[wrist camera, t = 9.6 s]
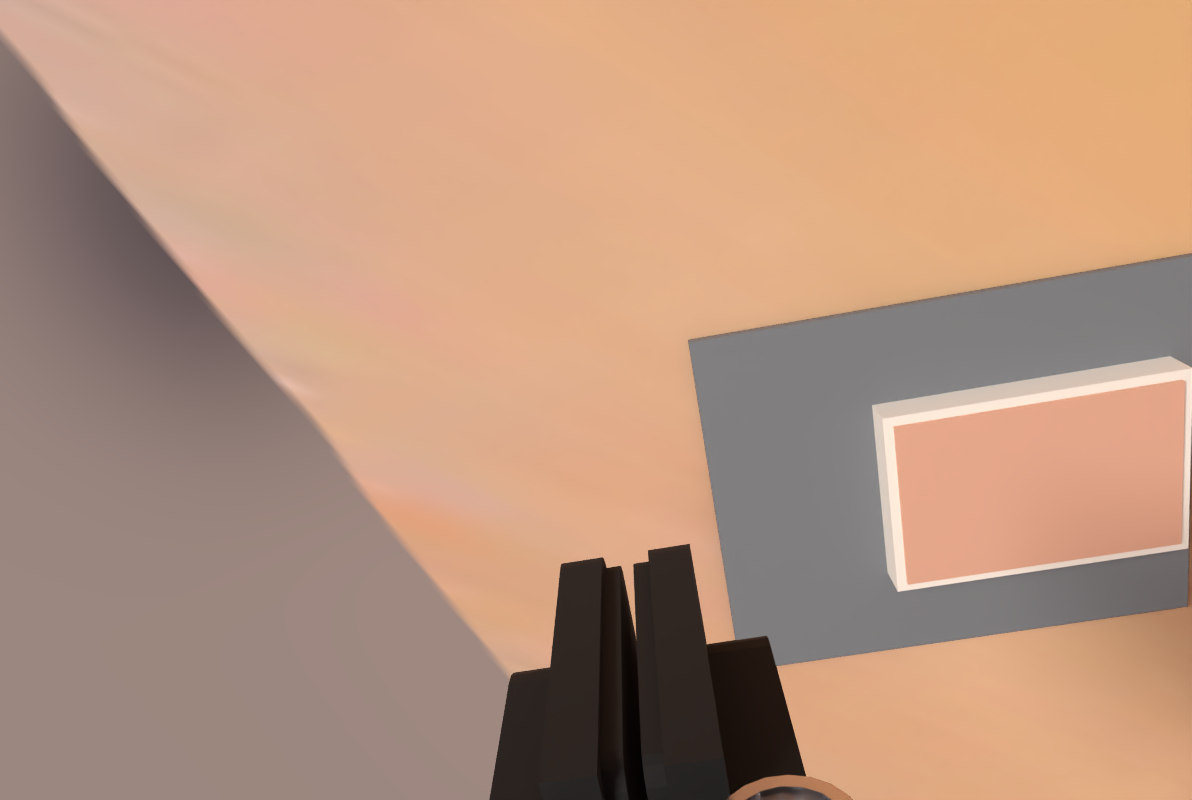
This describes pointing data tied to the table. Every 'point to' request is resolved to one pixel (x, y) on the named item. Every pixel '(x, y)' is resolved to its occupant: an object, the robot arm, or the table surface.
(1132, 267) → the mat
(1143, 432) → the tile
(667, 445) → the table surface
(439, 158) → the table surface
